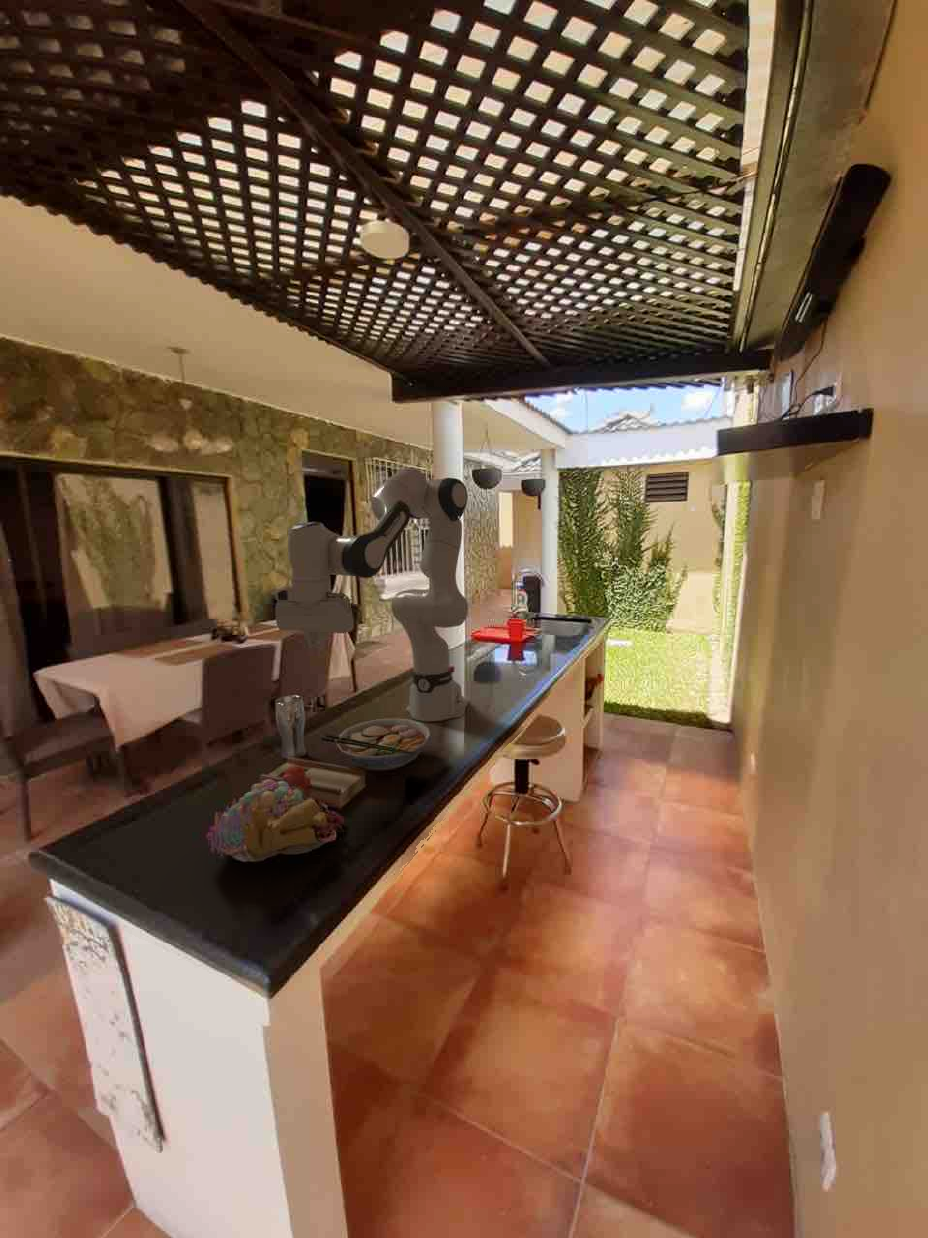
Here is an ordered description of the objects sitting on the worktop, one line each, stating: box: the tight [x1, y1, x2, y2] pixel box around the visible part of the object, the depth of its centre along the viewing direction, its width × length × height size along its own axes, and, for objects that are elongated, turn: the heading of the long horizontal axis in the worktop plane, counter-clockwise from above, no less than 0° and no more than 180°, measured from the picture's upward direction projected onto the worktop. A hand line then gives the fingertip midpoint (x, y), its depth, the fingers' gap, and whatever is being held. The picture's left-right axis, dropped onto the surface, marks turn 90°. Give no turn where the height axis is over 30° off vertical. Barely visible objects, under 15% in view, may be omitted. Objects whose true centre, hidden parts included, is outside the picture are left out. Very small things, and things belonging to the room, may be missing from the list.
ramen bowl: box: [320, 717, 431, 771], centre depth 120 cm, size 25×23×8 cm
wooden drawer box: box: [259, 757, 366, 810], centre depth 109 cm, size 10×21×4 cm, turn 69°
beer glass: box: [274, 694, 307, 760], centre depth 126 cm, size 7×7×15 cm
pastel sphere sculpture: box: [205, 764, 346, 863], centre depth 91 cm, size 25×24×9 cm
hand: (316, 649), depth 117 cm, fingers closed
